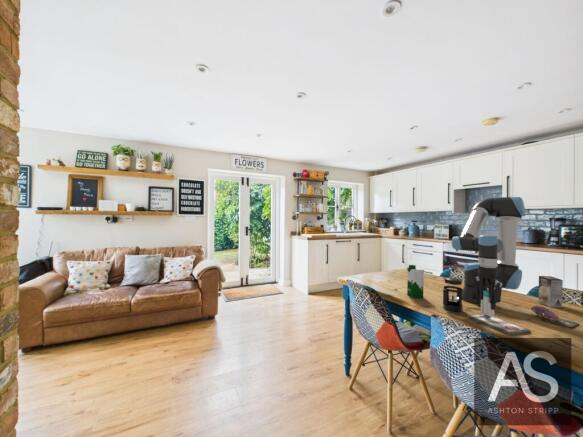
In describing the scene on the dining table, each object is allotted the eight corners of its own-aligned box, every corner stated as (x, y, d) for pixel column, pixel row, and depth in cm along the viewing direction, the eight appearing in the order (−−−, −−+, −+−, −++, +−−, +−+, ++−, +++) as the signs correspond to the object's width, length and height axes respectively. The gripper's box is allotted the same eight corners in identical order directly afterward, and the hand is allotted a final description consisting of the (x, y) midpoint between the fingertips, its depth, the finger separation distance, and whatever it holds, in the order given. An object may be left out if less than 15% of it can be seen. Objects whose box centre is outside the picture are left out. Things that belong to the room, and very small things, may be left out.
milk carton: (405, 294, 167) (405, 264, 167) (419, 294, 166) (419, 264, 166) (411, 298, 158) (411, 266, 158) (425, 298, 158) (426, 266, 158)
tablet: (467, 317, 127) (467, 315, 127) (486, 315, 130) (486, 313, 130) (509, 335, 108) (509, 332, 108) (530, 332, 111) (530, 329, 111)
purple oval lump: (532, 317, 132) (527, 305, 132) (539, 313, 133) (534, 301, 132) (554, 325, 123) (548, 312, 122) (561, 320, 123) (556, 308, 123)
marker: (481, 316, 125) (481, 290, 125) (486, 315, 125) (486, 289, 125) (487, 318, 121) (488, 292, 121) (493, 318, 122) (493, 291, 122)
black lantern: (451, 305, 145) (452, 265, 145) (468, 311, 136) (468, 269, 136) (436, 307, 141) (437, 267, 141) (452, 313, 132) (452, 270, 132)
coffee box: (537, 301, 153) (537, 275, 153) (550, 302, 151) (550, 276, 151) (549, 307, 144) (550, 279, 144) (563, 307, 142) (563, 279, 142)
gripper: (466, 263, 130) (466, 308, 130) (498, 270, 115) (498, 321, 115) (478, 263, 132) (477, 307, 132) (511, 269, 116) (510, 320, 116)
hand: (487, 314), depth 123 cm, fingers closed on marker, 3 cm apart
